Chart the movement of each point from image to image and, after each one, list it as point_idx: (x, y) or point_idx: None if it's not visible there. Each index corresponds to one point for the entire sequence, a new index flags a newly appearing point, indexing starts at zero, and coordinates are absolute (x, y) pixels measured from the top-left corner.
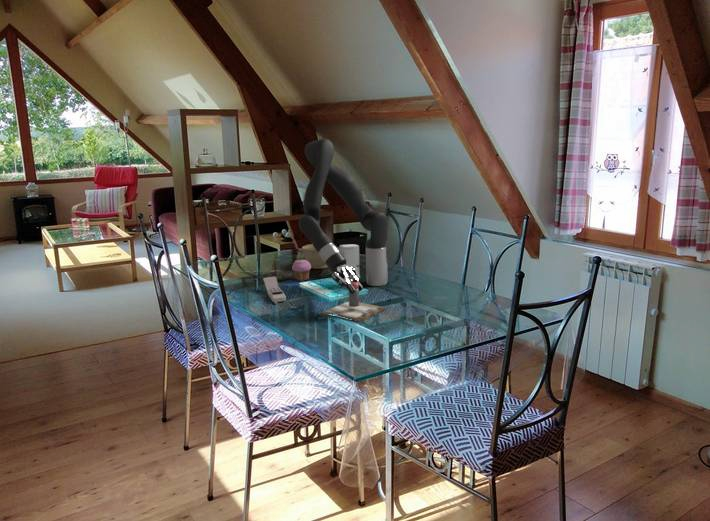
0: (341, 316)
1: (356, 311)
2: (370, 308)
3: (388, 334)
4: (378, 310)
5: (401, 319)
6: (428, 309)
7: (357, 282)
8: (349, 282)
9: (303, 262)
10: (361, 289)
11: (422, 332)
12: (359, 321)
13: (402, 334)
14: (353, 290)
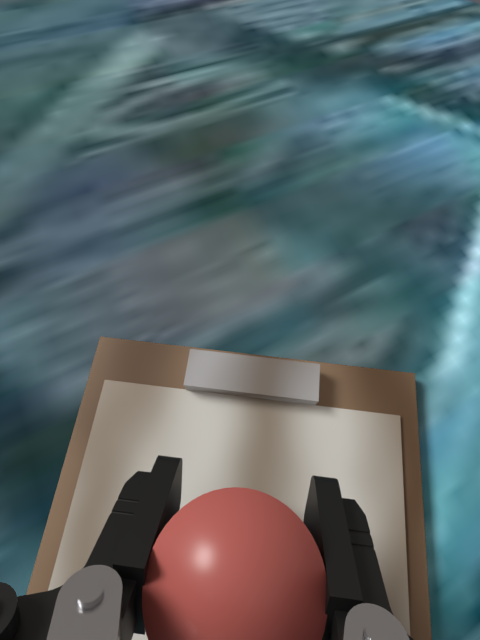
0: (425, 546)
1: (272, 488)
2: (166, 422)
3: (459, 174)
4: (178, 355)
5: (240, 203)
6: (39, 156)
7: (175, 534)
8: (356, 620)
9: None
10: (180, 469)
11: (351, 85)
12: (409, 375)
13: (420, 131)
14: (342, 500)
